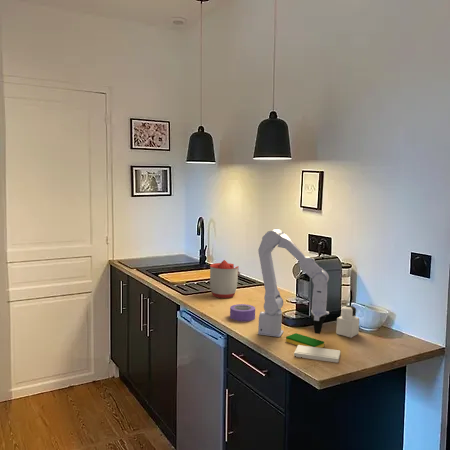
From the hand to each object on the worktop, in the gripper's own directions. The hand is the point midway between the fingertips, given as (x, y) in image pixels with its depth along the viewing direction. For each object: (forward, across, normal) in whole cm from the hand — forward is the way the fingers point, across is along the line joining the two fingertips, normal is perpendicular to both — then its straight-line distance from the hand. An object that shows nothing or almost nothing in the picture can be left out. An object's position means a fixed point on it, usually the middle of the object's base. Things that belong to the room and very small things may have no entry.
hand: (317, 333), depth 196 cm
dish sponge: (+4, -6, +4) cm, 8 cm away
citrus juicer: (+4, +53, +57) cm, 78 cm away
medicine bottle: (+3, +13, -11) cm, 17 cm away
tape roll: (+4, +18, +37) cm, 41 cm away
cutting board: (+3, -17, -2) cm, 17 cm away
